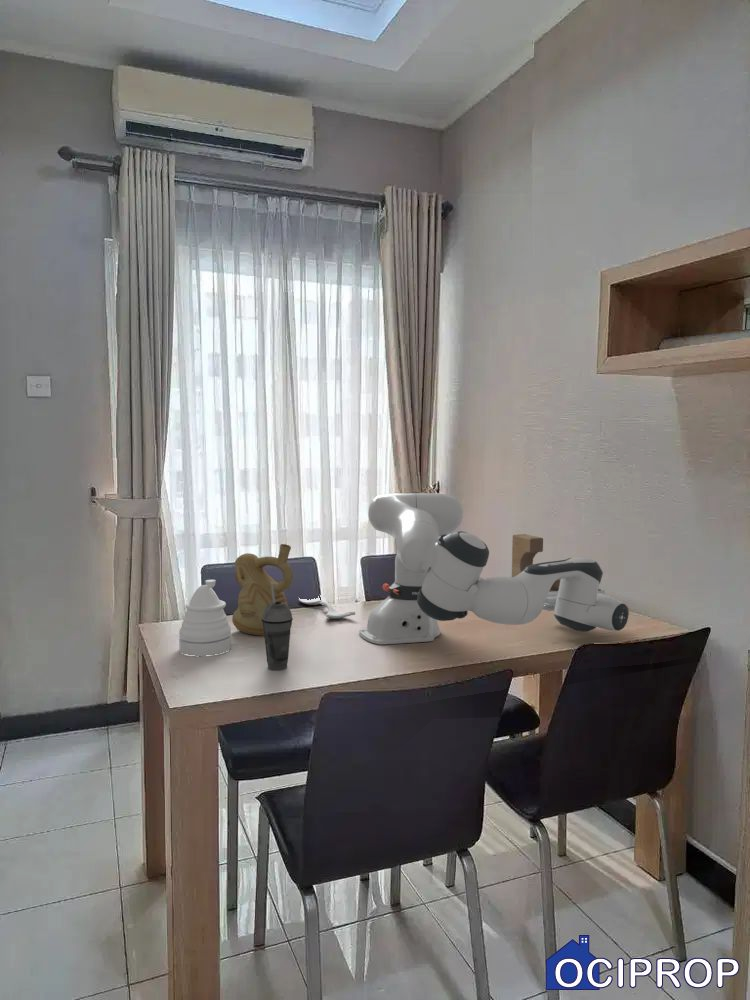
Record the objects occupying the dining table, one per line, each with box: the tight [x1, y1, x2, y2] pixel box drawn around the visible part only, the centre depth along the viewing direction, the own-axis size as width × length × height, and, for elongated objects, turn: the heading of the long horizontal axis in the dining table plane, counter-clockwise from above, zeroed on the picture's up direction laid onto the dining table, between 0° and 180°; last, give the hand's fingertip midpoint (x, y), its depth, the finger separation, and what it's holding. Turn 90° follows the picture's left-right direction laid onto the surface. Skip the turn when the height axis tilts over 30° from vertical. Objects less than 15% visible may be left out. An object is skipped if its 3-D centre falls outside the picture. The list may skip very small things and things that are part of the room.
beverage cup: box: [262, 584, 294, 671], centre depth 161 cm, size 7×7×20 cm
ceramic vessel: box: [231, 543, 294, 636], centre depth 192 cm, size 17×20×25 cm
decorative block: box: [511, 533, 544, 578], centre depth 242 cm, size 11×6×20 cm, turn 23°
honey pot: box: [178, 579, 232, 656], centre depth 175 cm, size 13×13×18 cm
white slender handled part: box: [298, 594, 356, 620], centre depth 216 cm, size 9×32×4 cm, turn 24°
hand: (548, 592), depth 201 cm, fingers closed on walnut block, 5 cm apart
